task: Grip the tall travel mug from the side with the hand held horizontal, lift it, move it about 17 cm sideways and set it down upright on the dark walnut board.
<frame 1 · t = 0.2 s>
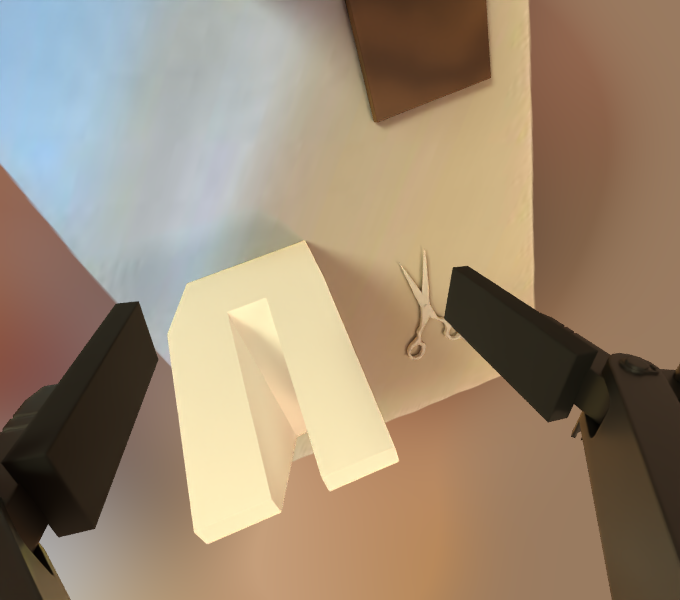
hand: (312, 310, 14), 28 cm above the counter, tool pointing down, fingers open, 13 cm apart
scissors: (425, 307, 51), on the counter
white slotted tapered block: (275, 321, 46), on the counter
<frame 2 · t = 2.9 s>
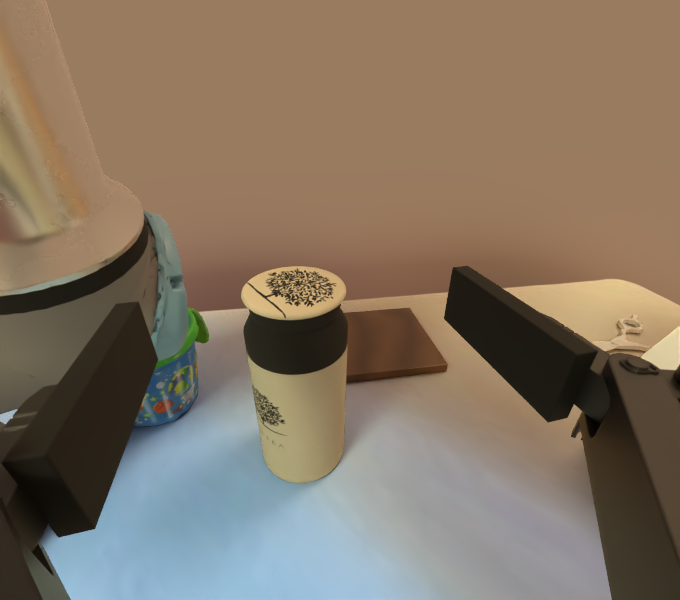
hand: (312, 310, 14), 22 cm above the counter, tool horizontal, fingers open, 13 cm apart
walnut board: (359, 345, 47), on the counter
scissors: (614, 346, 48), on the counter
snack cup: (164, 403, 37), on the counter
travel mug: (304, 447, 33), on the counter
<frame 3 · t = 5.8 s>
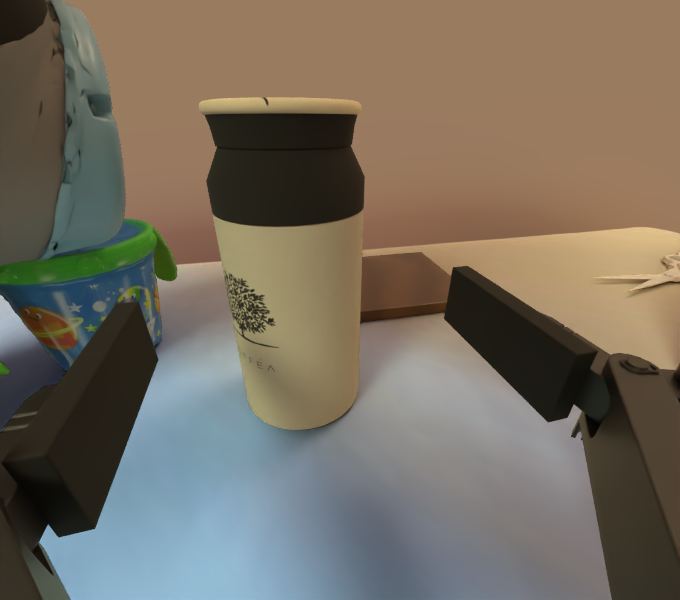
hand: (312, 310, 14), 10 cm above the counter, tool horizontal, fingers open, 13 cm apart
walnut board: (365, 288, 39), on the counter
scissors: (667, 280, 40), on the counter
snack cup: (116, 351, 28), on the counter
travel mug: (303, 390, 24), on the counter
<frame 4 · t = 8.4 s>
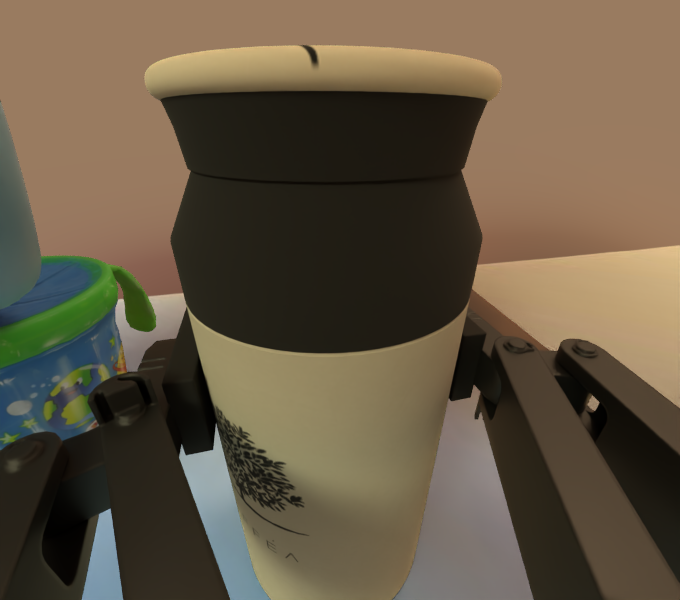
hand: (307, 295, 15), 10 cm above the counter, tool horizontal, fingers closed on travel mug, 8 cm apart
walnut board: (398, 331, 31), on the counter
snack cup: (67, 440, 20), on the counter
travel mug: (333, 522, 16), on the counter, touching gripper
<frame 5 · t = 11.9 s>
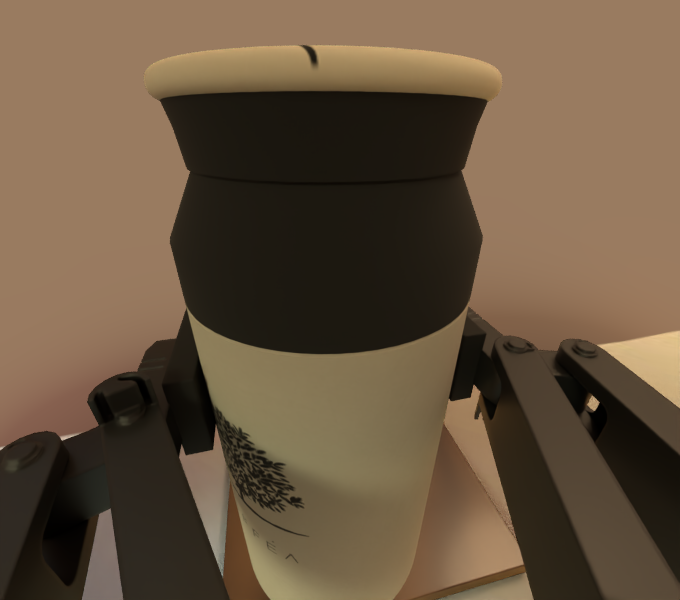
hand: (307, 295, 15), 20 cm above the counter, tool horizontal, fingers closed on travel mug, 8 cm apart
walnut board: (358, 503, 26), on the counter
travel mug: (333, 522, 16), point 10 cm above the counter, touching gripper
when the fingers open (11 cm above the counter, at t = 15.7 s): travel mug stays where it is, resting on walnut board.
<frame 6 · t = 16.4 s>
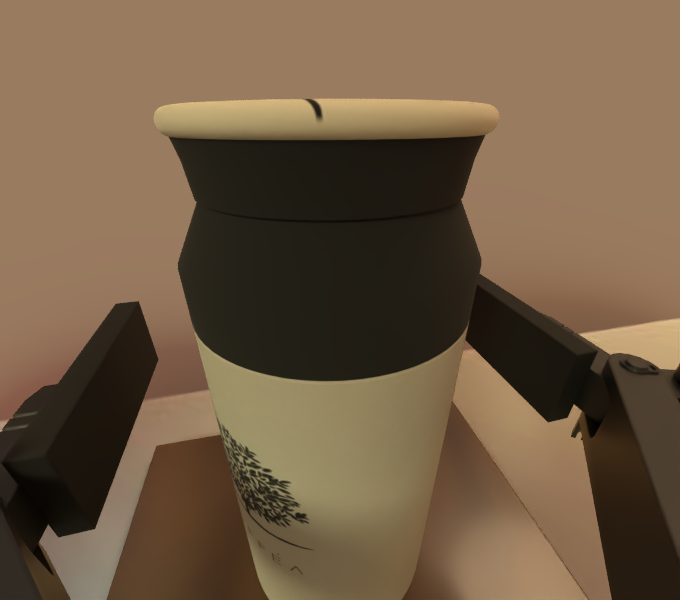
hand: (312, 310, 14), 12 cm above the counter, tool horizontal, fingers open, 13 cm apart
walnut board: (334, 540, 17), on the counter
travel mug: (336, 530, 16), point 1 cm above the counter, touching walnut board
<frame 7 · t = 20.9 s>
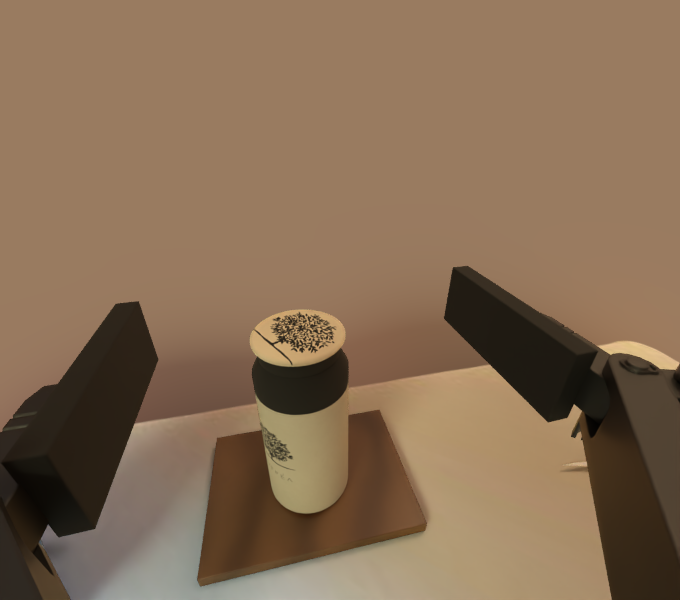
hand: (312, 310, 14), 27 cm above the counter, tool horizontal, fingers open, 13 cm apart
walnut board: (309, 482, 35), on the counter
travel mug: (310, 476, 34), point 1 cm above the counter, touching walnut board
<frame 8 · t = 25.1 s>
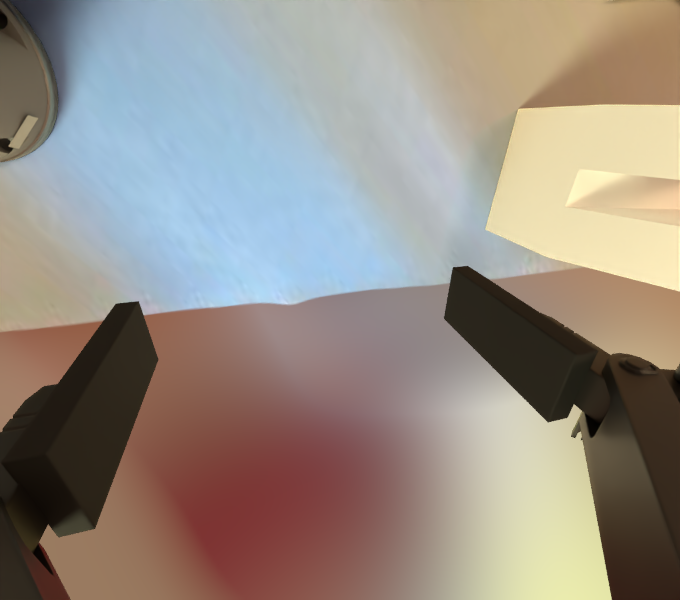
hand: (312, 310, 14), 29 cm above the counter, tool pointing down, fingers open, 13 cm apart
white slotted tapered block: (556, 176, 47), on the counter
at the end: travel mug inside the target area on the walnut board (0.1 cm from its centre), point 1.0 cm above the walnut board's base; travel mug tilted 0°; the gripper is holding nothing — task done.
